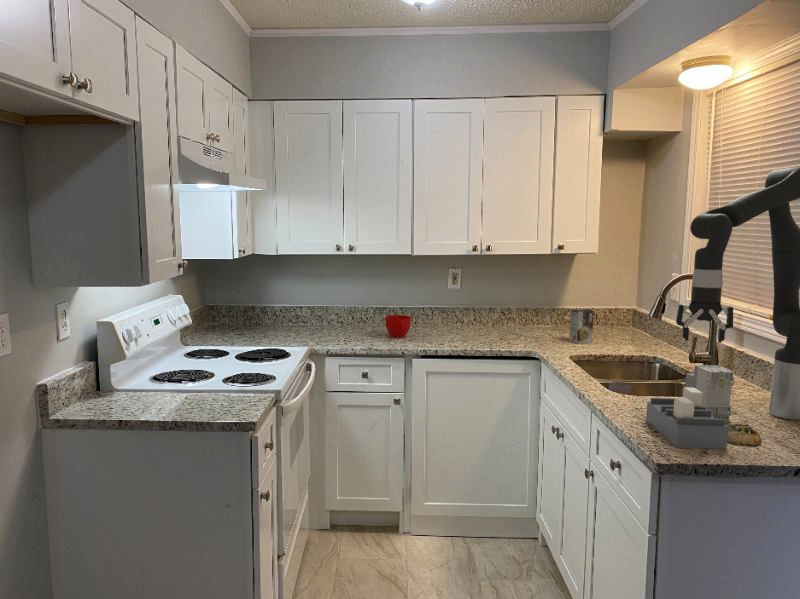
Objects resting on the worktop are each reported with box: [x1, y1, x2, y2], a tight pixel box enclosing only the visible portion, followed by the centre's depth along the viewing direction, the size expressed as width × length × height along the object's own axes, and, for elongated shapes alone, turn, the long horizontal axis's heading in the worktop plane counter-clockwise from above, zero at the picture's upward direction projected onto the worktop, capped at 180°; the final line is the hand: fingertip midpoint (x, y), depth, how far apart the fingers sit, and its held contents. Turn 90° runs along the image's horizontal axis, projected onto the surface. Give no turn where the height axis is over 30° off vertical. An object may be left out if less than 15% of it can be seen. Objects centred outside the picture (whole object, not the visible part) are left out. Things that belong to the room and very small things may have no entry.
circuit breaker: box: [684, 364, 735, 422], centre depth 176 cm, size 8×14×15 cm, turn 2°
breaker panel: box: [645, 397, 729, 450], centre depth 158 cm, size 13×20×8 cm, turn 178°
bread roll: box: [725, 423, 762, 446], centre depth 156 cm, size 11×11×5 cm
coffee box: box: [569, 308, 595, 345], centre depth 280 cm, size 9×6×16 cm
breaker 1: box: [682, 386, 703, 406], centre depth 162 cm, size 3×5×5 cm, turn 178°
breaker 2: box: [673, 396, 695, 418], centre depth 152 cm, size 3×5×5 cm, turn 178°
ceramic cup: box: [384, 314, 412, 339], centre depth 284 cm, size 13×17×10 cm
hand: (702, 341), depth 163 cm, fingers open, 8 cm apart
